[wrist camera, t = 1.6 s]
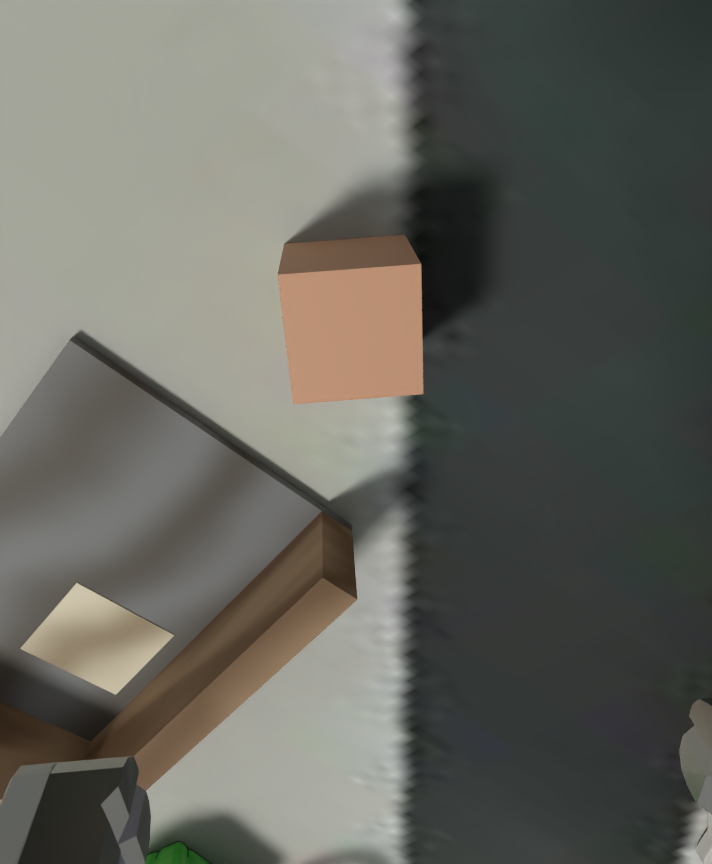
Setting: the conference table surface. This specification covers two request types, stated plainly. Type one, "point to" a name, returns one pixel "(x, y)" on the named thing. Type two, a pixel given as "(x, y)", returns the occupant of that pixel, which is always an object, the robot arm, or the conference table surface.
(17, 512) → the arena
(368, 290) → the cube
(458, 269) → the conference table surface
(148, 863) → the fruit basket
